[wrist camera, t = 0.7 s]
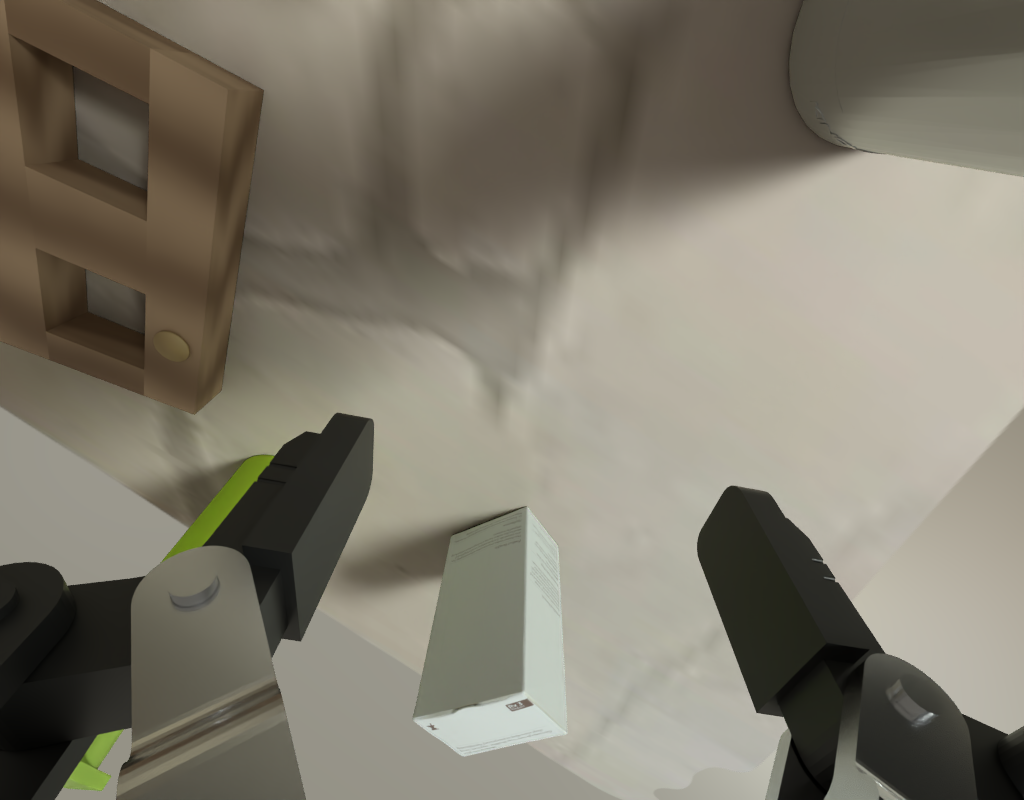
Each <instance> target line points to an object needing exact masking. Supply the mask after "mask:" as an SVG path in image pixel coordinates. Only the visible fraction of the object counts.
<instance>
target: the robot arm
mask: <svg viewBox="0 0 1024 800" xmlns="http://www.w3.org/2000/svg"><path fill="white" fill-rule="evenodd" d="M789 71H790V87H791V91H792V95H793V98H794V102H795V106H796V108H797V110H798V112H799V113H800V115H801V117H802V119H803V120H804V122H805V124H806V125H807V126H808V127H809V128H810V129H811V130H812V131H814V132H815V133H816V134H817V135H818V136H819V137H821V138H823V139H825V140H827V141H829V142H831V143H833V144H835V145H838V146H844V147H849V148H852V149H855V150H860V151H863V152H869V153H877V154H889V155H894V156H899V157H905V158H911V159H917V160H923V161H929V162H935V163H941V164H947V165H954V166H960V167H966V168H972V169H978V170H984V171H990V172H996V173H1002V174H1008V175H1014V176H1020V177H1024V0H804V2H803V4H802V7H801V10H800V13H799V16H798V19H797V23H796V26H795V29H794V32H793V38H792V44H791V51H790V58H789ZM373 444H374V422H373V420H372V419H370V418H364V417H359V416H353V415H348V414H342V413H336V414H335V415H334V416H333V417H332V418H331V420H330V421H329V423H328V424H327V426H326V427H325V428H324V430H323V431H322V433H321V434H318V433H313V432H307V431H306V432H304V433H303V434H301V435H299V436H298V437H296V438H294V439H293V440H291V441H289V442H288V443H286V444H284V445H283V446H282V448H281V449H280V450H279V451H278V453H277V454H276V455H275V456H274V458H273V459H272V460H271V461H270V465H269V466H266V468H265V469H264V470H263V471H262V473H261V474H260V475H259V476H258V480H257V482H256V481H254V483H253V484H252V485H251V486H250V488H249V489H248V490H247V491H246V493H245V494H244V495H243V496H242V498H241V499H240V500H239V501H238V503H237V504H236V505H235V506H234V508H233V509H232V510H231V511H230V513H229V514H228V515H227V516H226V518H225V519H224V520H223V521H222V523H221V524H220V525H219V526H218V528H217V529H216V530H215V531H214V533H213V534H212V535H211V536H210V538H209V539H208V540H207V541H206V542H205V543H204V545H203V546H202V547H197V548H193V549H189V550H186V551H184V552H181V553H178V554H176V555H174V556H172V557H170V558H168V559H167V560H165V561H163V562H162V563H160V564H159V565H157V566H156V567H155V568H153V569H152V570H151V571H150V572H149V573H148V574H147V575H146V576H143V577H137V578H131V579H122V580H113V581H105V582H96V583H87V584H80V585H70V586H67V585H66V582H65V581H64V579H63V577H62V575H61V574H60V572H59V571H58V570H56V569H55V568H54V567H52V566H49V565H46V564H42V563H36V562H23V563H13V564H8V565H3V566H0V800H55V798H56V797H57V795H58V794H59V792H60V791H61V789H62V788H63V786H64V785H65V783H66V782H67V780H68V779H69V777H70V776H71V774H72V773H73V771H74V770H75V768H76V767H77V765H78V764H79V762H80V761H81V759H82V758H83V756H84V755H85V753H86V752H87V750H88V749H89V747H90V746H91V744H92V743H93V741H94V740H95V738H96V737H97V735H99V734H104V733H109V732H114V731H118V730H123V729H128V728H132V748H131V754H130V758H129V760H128V761H127V762H125V763H124V764H123V765H122V767H121V770H120V773H119V778H118V784H117V794H116V800H306V797H305V792H304V788H303V784H302V780H301V775H300V771H299V767H298V763H297V758H296V755H295V750H294V745H293V741H292V737H291V733H290V728H289V724H288V720H287V716H286V712H285V707H284V703H283V699H282V696H281V692H280V689H279V688H278V684H277V680H276V676H275V671H274V667H273V663H272V657H273V655H274V653H275V651H276V649H277V646H278V645H279V643H280V641H281V639H288V640H295V641H301V640H302V638H303V636H304V634H305V631H306V629H307V627H308V625H309V623H310V621H311V618H312V616H313V614H314V612H315V610H316V608H317V605H318V603H319V601H320V599H321V597H322V595H323V592H324V590H325V588H326V586H327V584H328V581H329V579H330V577H331V575H332V573H333V571H334V568H335V566H336V564H337V562H338V560H339V558H340V555H341V553H342V551H343V549H344V547H345V545H346V542H347V540H348V538H349V536H350V534H351V532H352V529H353V527H354V525H355V523H356V521H357V518H358V516H359V514H360V512H361V510H362V508H363V505H364V503H365V501H366V499H367V496H368V493H369V489H370V485H371V480H372V472H373ZM697 552H698V558H699V561H700V563H701V566H702V569H703V571H704V574H705V577H706V579H707V582H708V585H709V587H710V590H711V593H712V595H713V598H714V601H715V603H716V606H717V609H718V611H719V614H720V617H721V619H722V622H723V625H724V627H725V630H726V632H727V635H728V638H729V640H730V643H731V646H732V648H733V651H734V654H735V656H736V659H737V662H738V664H739V667H740V670H741V672H742V675H743V678H744V680H745V683H746V686H747V688H748V691H749V694H750V696H751V699H752V702H753V704H754V707H755V710H756V712H757V713H761V714H767V715H774V716H781V717H784V719H785V721H786V723H787V726H788V729H787V730H786V731H785V732H784V733H783V734H782V736H781V738H780V740H779V744H778V749H777V753H776V757H775V761H774V765H773V769H772V773H771V778H770V782H769V786H768V790H767V794H766V798H765V800H1024V726H1023V727H1021V728H1020V729H1018V730H1016V731H1015V732H1013V733H1011V734H1009V735H1008V734H1005V733H1003V732H1001V731H999V730H997V729H995V728H992V727H990V726H988V725H986V724H983V723H981V722H979V721H977V720H975V719H972V718H970V717H968V716H966V715H964V714H961V712H960V711H959V709H958V708H957V706H956V705H955V703H954V702H953V701H952V700H951V698H950V697H949V696H948V695H947V694H946V693H945V692H944V691H943V689H942V688H941V687H940V686H938V685H937V684H936V683H935V682H934V681H933V680H932V679H931V678H930V677H928V676H927V675H926V674H925V673H923V672H922V671H920V670H919V669H917V668H916V667H914V666H913V665H911V664H909V663H908V662H906V661H904V660H902V659H900V658H897V657H894V656H892V655H888V654H885V652H884V651H883V649H882V648H881V646H880V645H879V643H878V642H877V641H876V639H875V637H874V636H873V634H872V633H871V631H870V630H869V628H868V627H867V625H866V624H865V622H864V621H863V619H862V618H861V616H860V615H859V613H858V612H857V610H856V609H855V607H854V606H853V604H852V602H851V601H850V599H849V598H848V596H847V595H846V593H845V592H844V590H843V589H842V587H841V586H840V584H839V583H837V582H835V577H834V575H833V574H832V572H831V571H830V569H829V568H828V566H827V565H826V564H823V559H822V557H821V556H820V554H819V553H818V551H817V550H816V548H815V547H814V545H813V544H812V542H811V541H810V539H809V538H808V537H807V536H806V535H805V534H804V533H803V532H802V531H801V530H800V529H798V528H797V527H796V526H795V525H794V524H793V523H792V522H791V521H790V520H789V519H788V518H785V516H784V514H783V513H782V511H781V510H780V508H779V507H778V505H777V503H776V502H775V500H774V499H773V497H772V496H771V495H770V494H769V493H768V492H765V491H760V490H755V489H749V488H744V487H738V486H730V487H728V488H727V489H726V490H725V491H724V492H723V494H722V495H721V497H720V499H719V501H718V502H717V504H716V506H715V507H714V509H713V511H712V512H711V514H710V516H709V517H708V519H707V521H706V522H705V524H704V526H703V527H702V529H701V531H700V533H699V537H698V542H697Z"/></svg>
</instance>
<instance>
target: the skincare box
mask: <svg viewBox="0 0 1024 800" xmlns="http://www.w3.org/2000/svg"><path fill="white" fill-rule="evenodd" d="M412 719H413V721H414V722H415V723H417V724H418V725H419V726H421V727H422V728H424V729H425V730H426V731H428V732H429V733H430V734H432V735H433V736H435V737H437V738H438V739H439V740H441V741H442V742H444V743H445V744H447V745H448V746H449V747H450V748H452V749H453V750H454V751H455V752H457V753H458V754H460V755H461V756H468V755H473V754H477V753H482V752H486V751H490V750H494V749H498V748H503V747H507V746H512V745H516V744H521V743H526V742H531V741H536V740H541V739H545V738H550V737H555V736H561V735H567V712H566V693H565V668H564V653H563V632H562V612H561V590H560V573H559V551H558V546H557V544H556V543H555V542H554V540H553V539H552V538H551V536H550V535H549V534H548V533H547V531H546V530H545V529H544V527H543V526H542V525H541V523H540V522H539V521H538V520H537V518H536V517H535V516H534V514H533V513H532V512H531V511H530V509H529V508H528V507H524V508H522V509H519V510H517V511H514V512H512V513H509V514H507V515H504V516H501V517H499V518H496V519H494V520H491V521H489V522H486V523H484V524H481V525H478V526H476V527H473V528H471V529H468V530H466V531H463V532H461V533H458V534H455V535H452V536H451V539H450V544H449V548H448V553H447V558H446V563H445V568H444V573H443V578H442V583H441V587H440V592H439V597H438V602H437V606H436V611H435V616H434V621H433V625H432V630H431V635H430V640H429V644H428V649H427V654H426V659H425V663H424V668H423V673H422V678H421V682H420V687H419V693H418V697H417V702H416V706H415V710H414V714H413V718H412Z"/></svg>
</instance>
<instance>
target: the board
mask: <svg viewBox="0 0 1024 800" xmlns="http://www.w3.org/2000/svg"><path fill="white" fill-rule="evenodd" d="M72 66H74V67H76V68H78V69H80V70H82V71H84V72H86V73H88V74H90V75H92V76H94V77H96V78H98V79H100V80H102V81H104V82H106V83H108V84H110V85H112V86H114V87H116V88H118V89H120V90H122V91H124V92H126V93H128V94H130V95H132V96H134V97H136V98H138V99H140V100H142V101H144V102H146V103H148V104H149V140H148V191H145V190H143V189H141V188H139V187H137V186H135V185H133V184H130V183H128V182H126V181H124V180H122V179H120V178H118V177H115V176H113V175H111V174H109V173H107V172H105V171H103V170H101V169H98V168H96V167H94V166H92V165H90V164H88V163H86V162H83V161H81V160H79V159H78V147H77V131H76V115H75V99H74V84H73V68H72ZM263 93H264V90H262V89H260V88H258V87H256V86H255V85H253V84H251V83H249V82H247V81H245V80H243V79H242V78H240V77H238V76H236V75H234V74H232V73H230V72H229V71H227V70H225V69H223V68H221V67H219V66H217V65H216V64H214V63H212V62H210V61H208V60H206V59H204V58H203V57H201V56H199V55H197V54H195V53H193V52H191V51H190V50H188V49H186V48H184V47H182V46H180V45H178V44H177V43H175V42H173V41H171V40H169V39H167V38H165V37H164V36H162V35H160V34H158V33H156V32H154V31H152V30H151V29H149V28H147V27H145V26H143V25H141V24H139V23H138V22H136V21H134V20H132V19H130V18H128V17H126V16H125V15H123V14H121V13H119V12H117V11H115V10H113V9H112V8H110V7H108V6H106V5H104V4H102V3H100V2H99V1H97V0H0V341H1V342H4V343H6V344H9V345H12V346H14V347H17V348H20V349H22V350H25V351H28V352H30V353H33V354H35V355H38V356H41V357H43V358H46V359H49V360H51V361H54V362H57V363H59V364H62V365H65V366H67V367H70V368H72V369H75V370H78V371H80V372H83V373H86V374H88V375H91V376H94V377H96V378H99V379H102V380H104V381H107V382H109V383H112V384H115V385H117V386H120V387H123V388H125V389H128V390H131V391H133V392H136V393H138V394H141V395H144V396H146V397H149V398H152V399H154V400H157V401H160V402H162V403H165V404H168V405H170V406H173V407H175V408H178V409H181V410H183V411H186V412H189V413H191V414H194V415H195V414H196V413H197V412H198V411H199V410H200V409H201V408H203V407H204V406H205V405H206V404H207V403H208V402H209V401H210V400H211V399H212V398H214V397H215V396H216V395H217V394H218V393H219V392H220V391H221V389H222V382H223V375H224V368H225V361H226V354H227V347H228V340H229V333H230V326H231V319H232V312H233V305H234V297H235V290H236V283H237V276H238V269H239V262H240V255H241V248H242V241H243V234H244V227H245V220H246V213H247V206H248V199H249V191H250V184H251V177H252V170H253V163H254V156H255V149H256V142H257V135H258V128H259V121H260V114H261V107H262V100H263ZM85 269H87V270H89V271H91V272H94V273H96V274H98V275H101V276H103V277H106V278H108V279H110V280H113V281H115V282H117V283H120V284H122V285H125V286H127V287H129V288H132V289H134V290H136V291H139V292H141V293H143V294H146V304H145V335H144V334H141V333H139V332H136V331H134V330H131V329H129V328H126V327H124V326H121V325H119V324H116V323H114V322H111V321H109V320H107V319H104V318H102V317H99V316H97V315H94V314H92V313H89V312H88V306H87V290H86V274H85Z"/></svg>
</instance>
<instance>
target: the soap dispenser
mask: <svg viewBox="0 0 1024 800" xmlns="http://www.w3.org/2000/svg"><path fill="white" fill-rule="evenodd" d="M273 458H274V456H270V455H258V456H253V457H251V458H249V459H247V460H246V461H244V463H243V464H242V465H241V466H240V467H239V469H238V470H237V471H236V472H235V473H234V475H233V476H232V477H231V478H230V479H229V481H228V482H227V483H226V484H225V486H224V487H223V488H222V489H221V490H220V492H219V493H218V494H217V495H216V496H215V498H214V499H213V500H212V501H211V502H210V504H209V505H208V506H207V507H206V508H205V510H204V511H203V512H202V513H201V515H200V516H199V517H198V518H197V519H196V521H195V522H194V523H193V524H192V525H191V527H190V528H189V529H188V530H187V531H186V533H185V534H184V535H183V537H182V538H181V539H180V540H179V541H178V542H177V544H176V545H175V546H174V547H173V548H172V550H171V551H170V552H169V553H168V554H167V556H166V557H165V558H164V559H163V561H165V560H167V559H168V558H170V557H172V556H174V555H176V554H178V553H181V552H184V551H186V550H189V549H193V548H197V547H202V546H203V545H204V543H205V542H206V541H207V540H208V539H209V538H210V536H211V535H212V534H213V533H214V531H215V530H216V529H217V528H218V526H219V525H220V524H221V523H222V521H223V520H224V519H225V518H226V516H227V515H228V514H229V513H230V511H231V510H232V509H233V508H234V506H235V505H236V504H237V503H238V501H239V500H240V499H241V498H242V496H243V495H244V494H245V493H246V491H247V490H248V489H249V488H250V486H251V485H252V484H253V483H254V481H256V482H257V480H258V476H259V475H260V474H261V473H262V471H263V470H264V469H265V468H266V466H269V465H270V461H271V460H272V459H273ZM163 561H162V562H163ZM162 562H161V563H162ZM123 730H124V729H123ZM123 730H118V731H114V732H109V733H104V734H99V735H97V737H96V738H95V740H94V741H93V743H92V744H91V746H90V747H89V749H88V750H87V752H86V753H85V755H84V756H83V758H82V759H81V761H80V762H79V764H78V765H77V767H76V768H75V770H74V771H73V773H72V774H71V776H70V777H69V779H68V780H67V782H66V783H65V785H64V786H63V787H64V788H68V789H82V790H97V791H102V790H103V789H104V787H105V785H106V784H107V782H108V781H109V779H110V778H111V776H110V775H108V774H106V773H104V772H102V771H100V770H98V767H99V766H100V764H101V763H102V761H103V760H104V758H105V757H106V755H107V754H108V752H109V751H110V749H111V748H112V746H113V745H114V743H115V742H116V740H117V739H118V737H119V736H120V734H121V733H122V731H123Z"/></svg>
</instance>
